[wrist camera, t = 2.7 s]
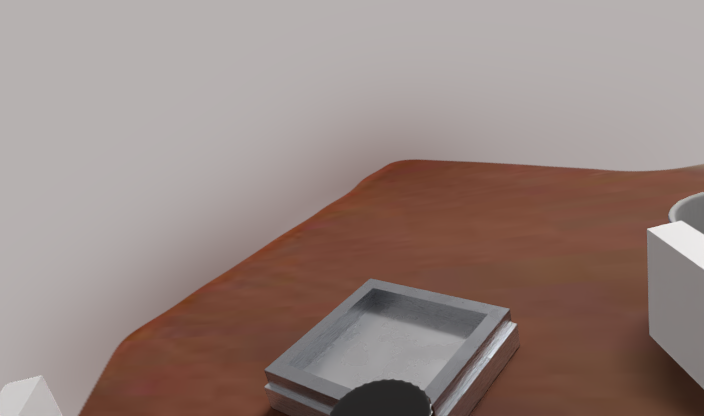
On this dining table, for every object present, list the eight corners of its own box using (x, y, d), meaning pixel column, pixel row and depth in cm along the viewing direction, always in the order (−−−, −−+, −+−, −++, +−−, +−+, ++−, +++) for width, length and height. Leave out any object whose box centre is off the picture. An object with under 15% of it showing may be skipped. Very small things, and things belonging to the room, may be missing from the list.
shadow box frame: (377, 308, 55) (369, 276, 54) (520, 345, 46) (515, 307, 45) (271, 407, 46) (258, 371, 45) (423, 476, 37) (413, 434, 36)
